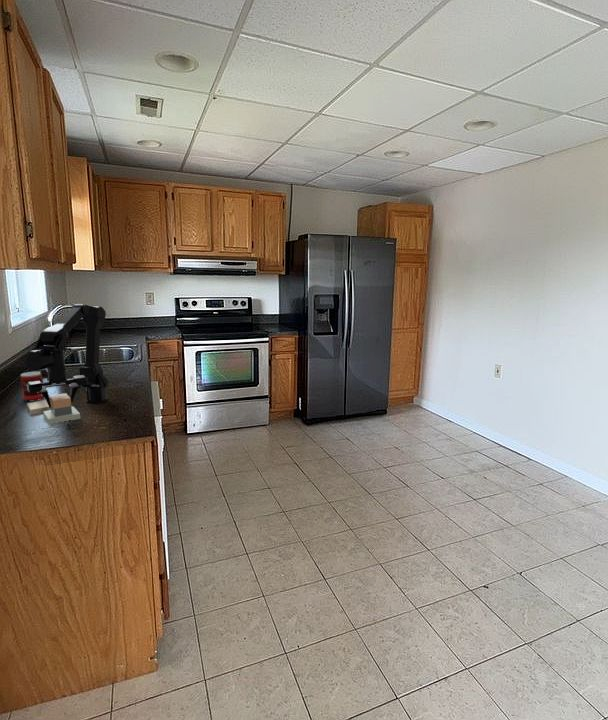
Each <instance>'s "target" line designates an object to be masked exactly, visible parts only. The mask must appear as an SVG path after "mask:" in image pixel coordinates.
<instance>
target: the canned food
mask: <svg viewBox="0 0 608 720" xmlns="http://www.w3.org/2000/svg"><path fill="white" fill-rule="evenodd" d="M33 381H40V382H41V383H44V379H41V375H40V371H28V372H23V373H21V374H20V384H21V390H22V398H23V400H24V401H25V400H37V401H39V400H38V399H41V400H43V399H45V398H44V396H43V395H42V394H38V393H37V392H34V393H29V391H28V390H27V383H28V382H33ZM42 398H43V399H42Z"/></svg>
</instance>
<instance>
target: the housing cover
mask: <svg viewBox="0 0 608 720" xmlns="http://www.w3.org/2000/svg"><path fill="white" fill-rule="evenodd" d="M49 398H50V402H51V405H52V407H53V408H54V409H57V408H63V407H68V406H71V407H72V404H71V398H70V395H68V393H66V392H65V393H59V394H52V395H49Z"/></svg>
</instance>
